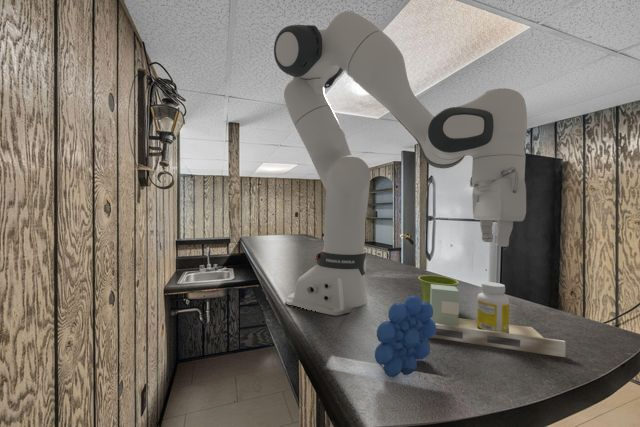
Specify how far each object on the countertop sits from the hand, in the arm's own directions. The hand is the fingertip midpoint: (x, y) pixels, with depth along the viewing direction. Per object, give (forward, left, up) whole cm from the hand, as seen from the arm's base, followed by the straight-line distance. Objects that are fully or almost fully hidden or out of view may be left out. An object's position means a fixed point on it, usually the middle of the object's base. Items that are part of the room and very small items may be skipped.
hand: (493, 243), depth 55 cm
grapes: (-17, -17, -20) cm, 31 cm away
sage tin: (-9, +1, -18) cm, 20 cm away
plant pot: (-9, +13, -20) cm, 25 cm away
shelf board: (-2, 0, -19) cm, 19 cm away
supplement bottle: (0, 0, -18) cm, 18 cm away
